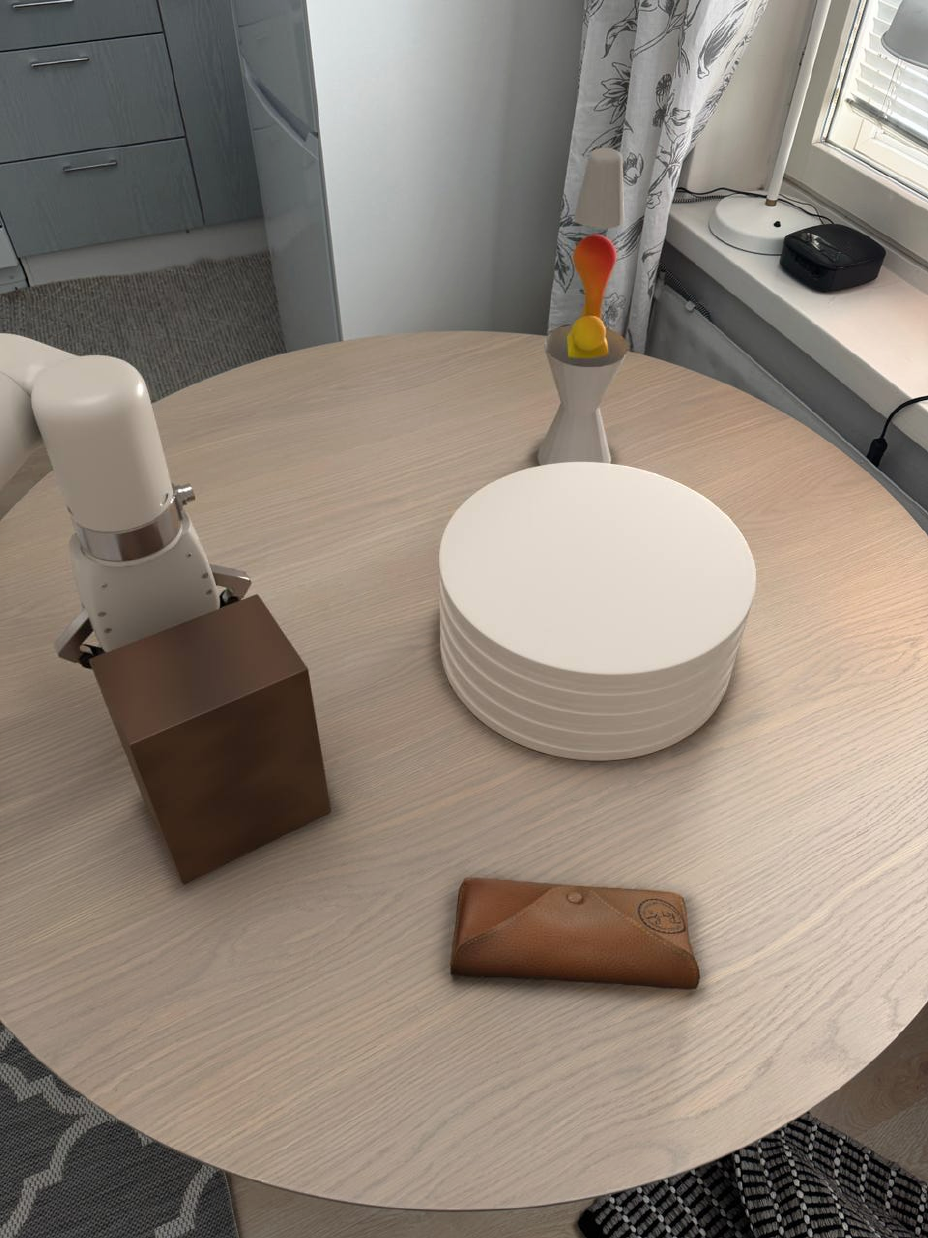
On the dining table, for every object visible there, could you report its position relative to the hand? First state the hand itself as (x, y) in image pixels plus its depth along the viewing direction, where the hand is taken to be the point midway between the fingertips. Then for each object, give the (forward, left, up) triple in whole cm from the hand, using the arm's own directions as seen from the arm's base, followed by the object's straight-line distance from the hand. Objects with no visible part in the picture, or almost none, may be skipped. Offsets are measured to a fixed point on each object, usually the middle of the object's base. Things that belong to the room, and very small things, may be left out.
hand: (174, 674), depth 87 cm
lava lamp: (+53, +13, -5) cm, 55 cm away
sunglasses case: (+17, -36, -5) cm, 40 cm away
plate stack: (+36, -12, -5) cm, 38 cm away
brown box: (0, -12, -5) cm, 13 cm away
